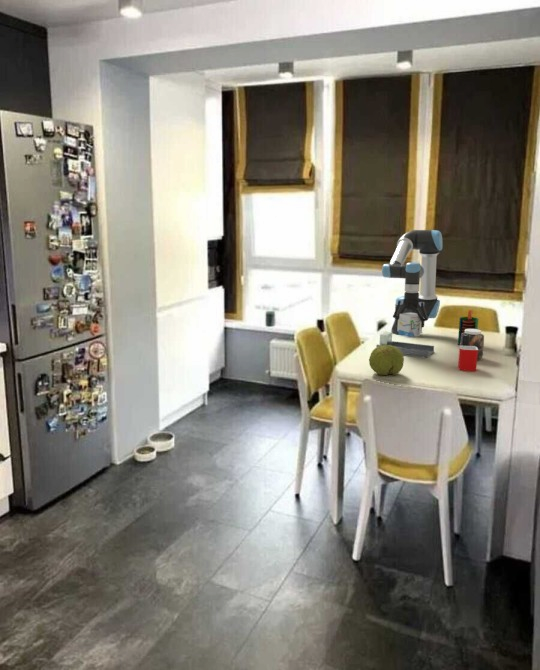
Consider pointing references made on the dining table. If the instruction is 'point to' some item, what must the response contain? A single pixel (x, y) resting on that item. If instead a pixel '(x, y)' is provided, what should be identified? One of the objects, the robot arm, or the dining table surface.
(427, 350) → the rail cradle
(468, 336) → the jar
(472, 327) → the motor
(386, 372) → the fruit
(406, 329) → the ink box
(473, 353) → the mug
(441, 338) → the dining table surface
